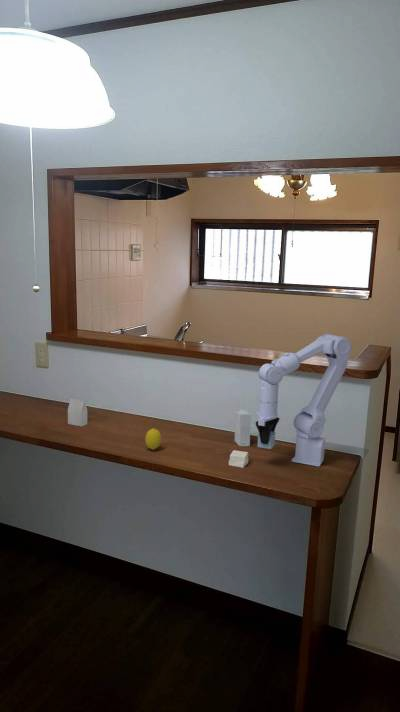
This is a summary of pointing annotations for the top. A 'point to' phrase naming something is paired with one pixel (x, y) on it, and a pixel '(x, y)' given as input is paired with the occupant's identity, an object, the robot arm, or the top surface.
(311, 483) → the top surface
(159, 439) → the lemon
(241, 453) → the slab top
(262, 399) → the robot arm
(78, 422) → the white upright block
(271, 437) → the blue cube
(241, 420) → the skincare box
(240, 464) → the slab bottom
